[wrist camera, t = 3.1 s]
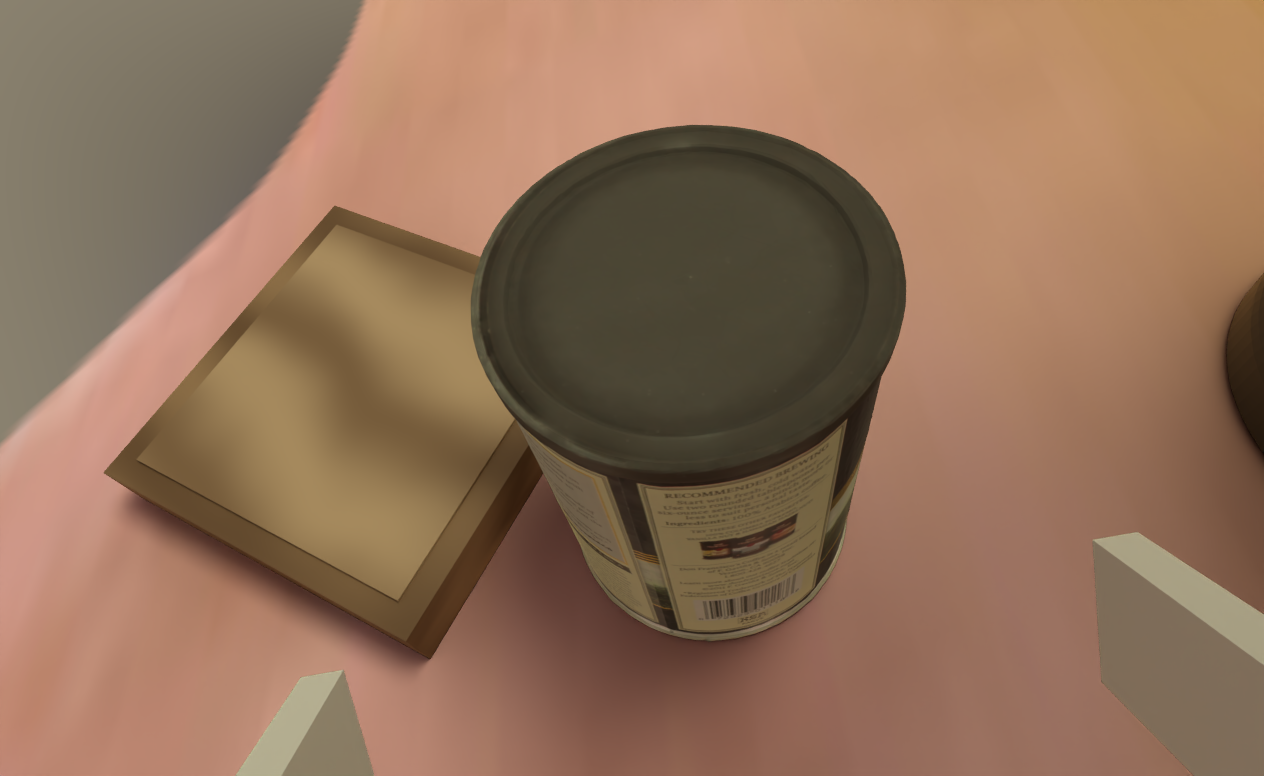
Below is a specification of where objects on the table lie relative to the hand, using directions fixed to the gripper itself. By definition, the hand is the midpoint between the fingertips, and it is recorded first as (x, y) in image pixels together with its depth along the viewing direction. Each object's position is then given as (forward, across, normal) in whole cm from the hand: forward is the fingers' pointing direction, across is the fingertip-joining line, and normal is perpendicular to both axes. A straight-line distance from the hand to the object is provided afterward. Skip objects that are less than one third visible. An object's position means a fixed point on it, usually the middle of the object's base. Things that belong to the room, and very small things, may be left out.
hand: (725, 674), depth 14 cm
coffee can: (+17, +1, -4) cm, 17 cm away
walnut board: (+21, -12, +1) cm, 24 cm away
